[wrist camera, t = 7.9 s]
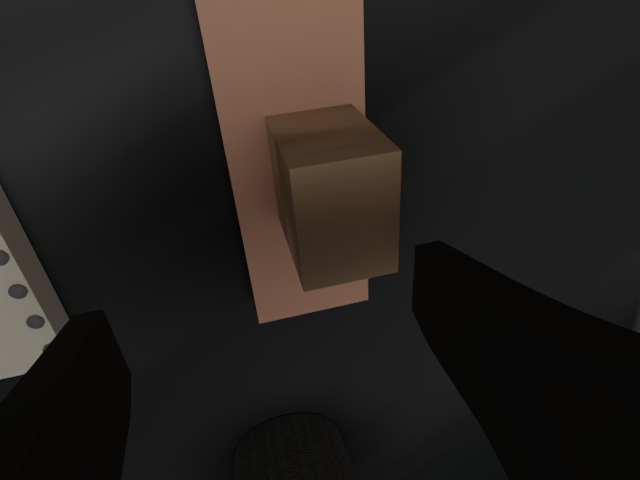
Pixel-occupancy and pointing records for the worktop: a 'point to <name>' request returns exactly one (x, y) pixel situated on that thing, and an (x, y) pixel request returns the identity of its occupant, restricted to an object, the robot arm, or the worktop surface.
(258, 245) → the stub
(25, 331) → the pad
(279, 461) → the coffee cup
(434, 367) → the worktop surface
